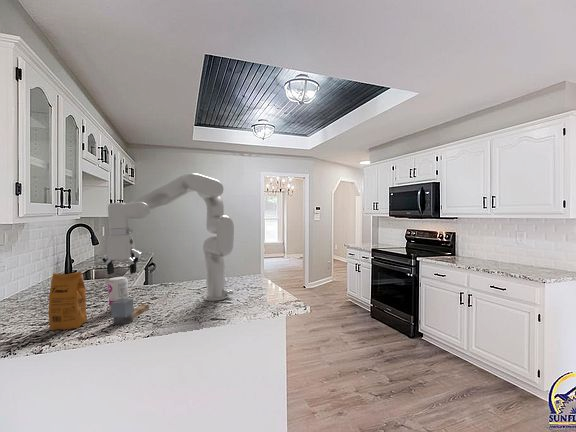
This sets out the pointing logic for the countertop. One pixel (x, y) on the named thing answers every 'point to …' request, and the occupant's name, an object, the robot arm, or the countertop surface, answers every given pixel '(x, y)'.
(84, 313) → the coffee package
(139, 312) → the wooden handled hammer
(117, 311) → the blue gray cube
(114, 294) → the supplement can
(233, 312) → the countertop surface
